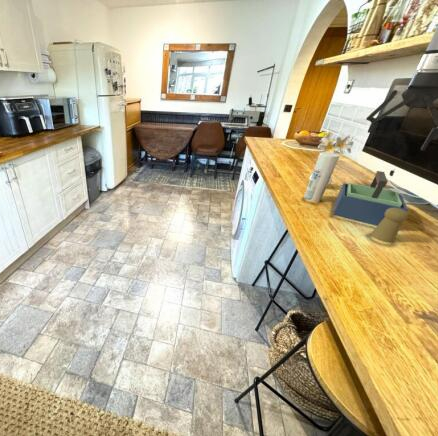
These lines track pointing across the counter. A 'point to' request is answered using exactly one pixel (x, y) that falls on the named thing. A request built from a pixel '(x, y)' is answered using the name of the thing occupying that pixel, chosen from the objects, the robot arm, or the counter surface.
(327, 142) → the flower vase
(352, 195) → the sage bin
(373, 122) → the robot arm
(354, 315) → the counter surface
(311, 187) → the spray can
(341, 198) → the slate bin
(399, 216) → the olive pepper mill
